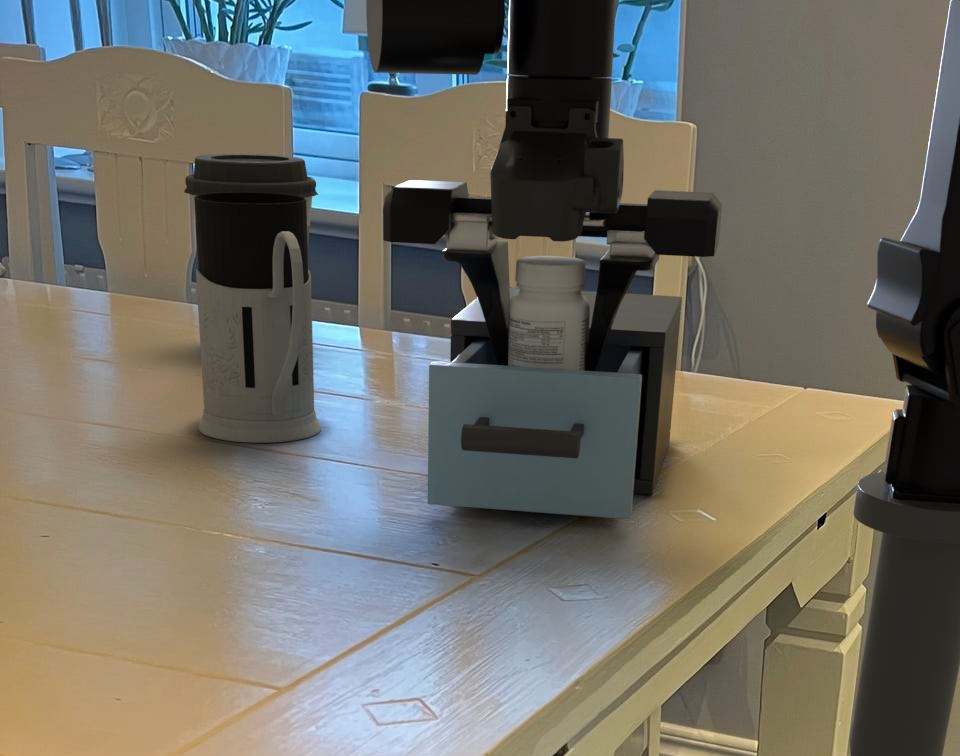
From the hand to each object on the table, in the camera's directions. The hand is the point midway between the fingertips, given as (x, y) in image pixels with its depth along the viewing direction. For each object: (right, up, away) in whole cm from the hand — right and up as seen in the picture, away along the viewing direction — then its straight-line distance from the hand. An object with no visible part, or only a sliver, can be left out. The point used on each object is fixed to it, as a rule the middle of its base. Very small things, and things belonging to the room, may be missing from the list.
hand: (546, 377), depth 95 cm
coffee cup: (-24, +20, +47) cm, 57 cm away
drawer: (0, -6, +3) cm, 7 cm away
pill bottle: (0, -2, +1) cm, 2 cm away
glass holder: (-19, +2, +18) cm, 26 cm away
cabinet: (+2, 0, +14) cm, 14 cm away
